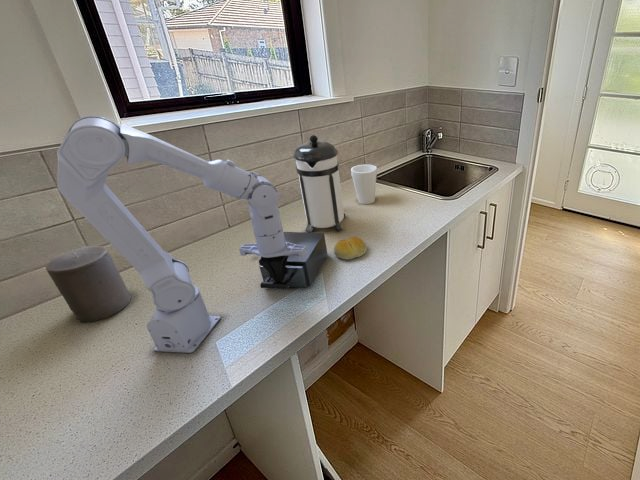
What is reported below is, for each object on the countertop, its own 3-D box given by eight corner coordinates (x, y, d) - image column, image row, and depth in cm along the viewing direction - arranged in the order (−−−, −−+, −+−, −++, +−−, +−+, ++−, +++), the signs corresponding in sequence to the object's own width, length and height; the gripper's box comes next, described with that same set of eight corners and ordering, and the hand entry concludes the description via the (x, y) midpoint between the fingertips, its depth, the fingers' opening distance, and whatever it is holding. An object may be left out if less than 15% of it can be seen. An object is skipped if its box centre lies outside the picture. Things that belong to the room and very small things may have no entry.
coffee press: (360, 222, 112) (352, 134, 99) (318, 241, 102) (302, 145, 89) (332, 207, 123) (321, 125, 110) (291, 222, 113) (273, 134, 99)
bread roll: (332, 248, 98) (330, 237, 96) (362, 242, 102) (360, 230, 100) (337, 264, 92) (336, 251, 90) (369, 256, 95) (368, 244, 93)
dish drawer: (298, 300, 77) (293, 280, 75) (254, 298, 78) (248, 279, 75) (322, 257, 93) (319, 239, 90) (286, 256, 93) (282, 238, 91)
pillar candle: (72, 329, 71) (35, 272, 64) (80, 303, 78) (47, 249, 71) (131, 309, 76) (102, 255, 69) (133, 287, 83) (107, 235, 76)
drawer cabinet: (310, 287, 83) (305, 261, 80) (265, 285, 84) (258, 260, 80) (327, 255, 95) (324, 232, 92) (288, 254, 96) (283, 231, 92)
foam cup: (383, 199, 129) (381, 167, 124) (368, 208, 122) (365, 174, 117) (365, 193, 134) (362, 162, 128) (349, 202, 127) (345, 169, 121)
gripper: (307, 222, 77) (315, 271, 82) (246, 220, 77) (258, 269, 83) (295, 238, 70) (304, 289, 76) (228, 236, 71) (243, 287, 77)
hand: (279, 280), depth 79 cm, fingers closed, pressing on dish drawer
